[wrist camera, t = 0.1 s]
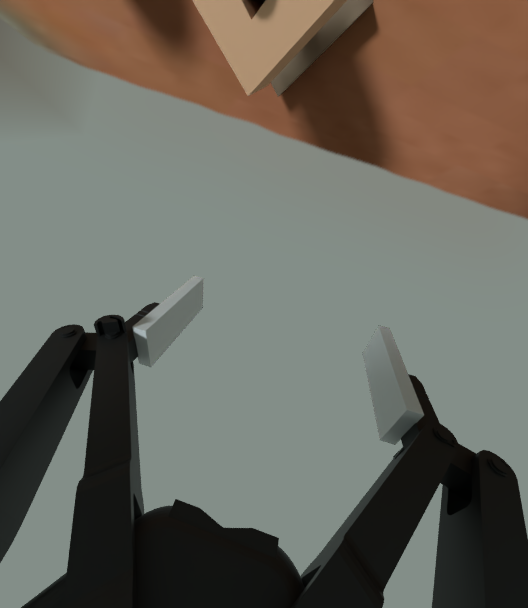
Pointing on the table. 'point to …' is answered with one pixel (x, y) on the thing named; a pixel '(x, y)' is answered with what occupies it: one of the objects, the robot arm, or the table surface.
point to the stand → (320, 42)
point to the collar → (263, 33)
